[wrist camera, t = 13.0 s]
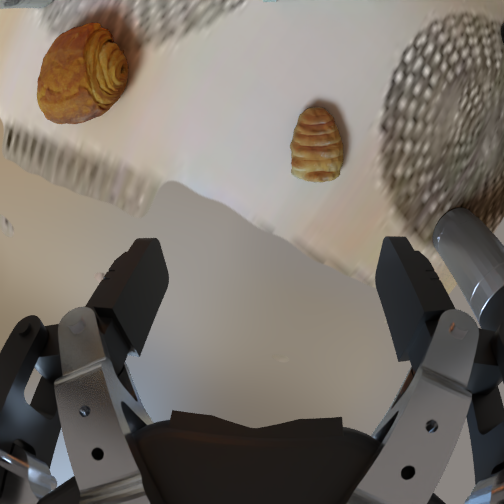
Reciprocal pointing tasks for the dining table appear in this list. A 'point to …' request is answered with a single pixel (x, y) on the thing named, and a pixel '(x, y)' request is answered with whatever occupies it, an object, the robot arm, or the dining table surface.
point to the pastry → (316, 147)
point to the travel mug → (24, 3)
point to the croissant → (81, 75)
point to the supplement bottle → (502, 32)
